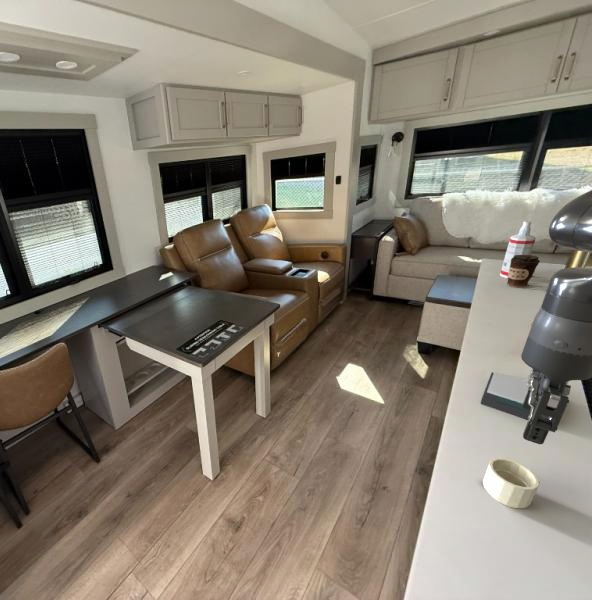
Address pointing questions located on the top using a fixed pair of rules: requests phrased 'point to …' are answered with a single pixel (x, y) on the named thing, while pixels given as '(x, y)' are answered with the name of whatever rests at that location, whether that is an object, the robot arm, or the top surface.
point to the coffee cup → (522, 270)
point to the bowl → (510, 483)
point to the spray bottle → (518, 247)
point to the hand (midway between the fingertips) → (531, 424)
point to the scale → (507, 394)
